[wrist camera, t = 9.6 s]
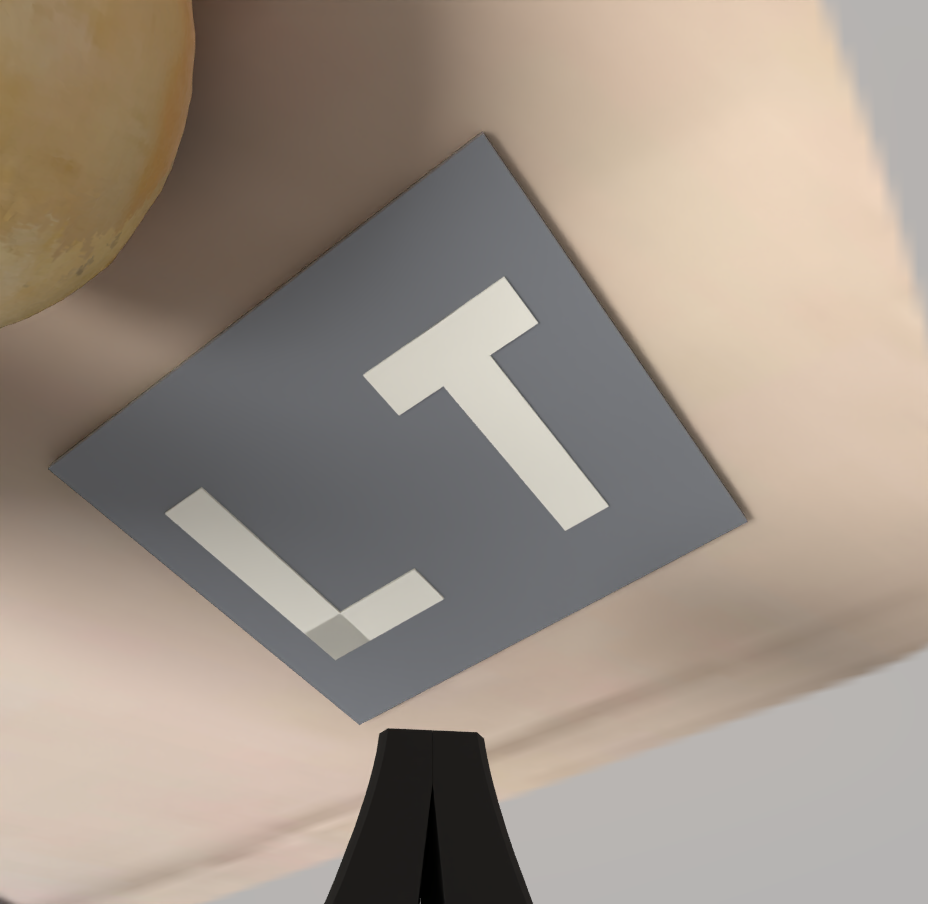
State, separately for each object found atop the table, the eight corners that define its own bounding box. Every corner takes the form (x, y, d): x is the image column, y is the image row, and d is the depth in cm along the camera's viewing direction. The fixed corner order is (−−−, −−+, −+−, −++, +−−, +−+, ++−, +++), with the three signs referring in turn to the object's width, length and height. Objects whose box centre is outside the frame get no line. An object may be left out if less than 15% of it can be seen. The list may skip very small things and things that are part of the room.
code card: (744, 515, 16) (748, 523, 16) (360, 717, 19) (359, 726, 19) (482, 131, 12) (483, 134, 12) (52, 462, 15) (46, 470, 15)
